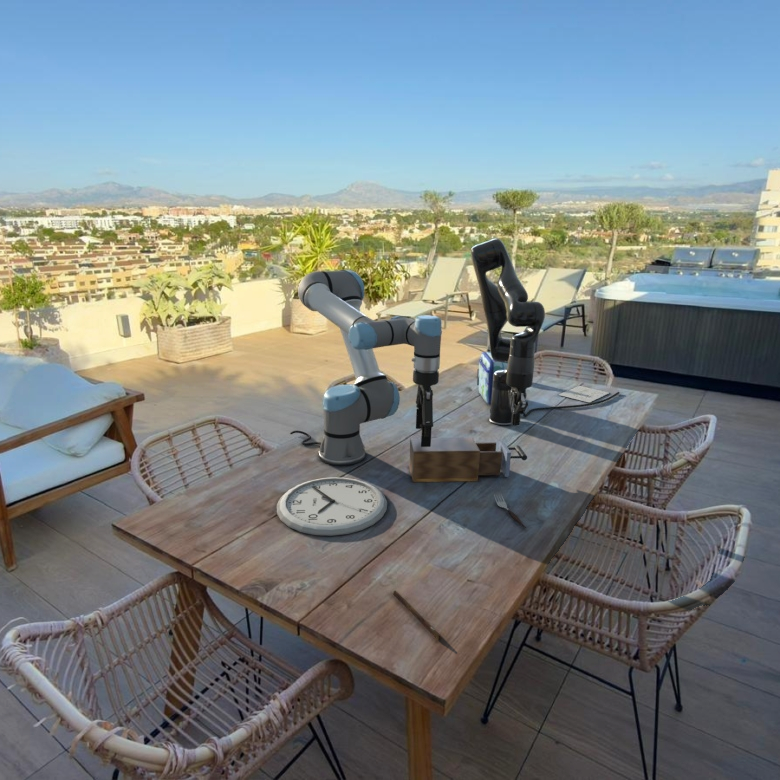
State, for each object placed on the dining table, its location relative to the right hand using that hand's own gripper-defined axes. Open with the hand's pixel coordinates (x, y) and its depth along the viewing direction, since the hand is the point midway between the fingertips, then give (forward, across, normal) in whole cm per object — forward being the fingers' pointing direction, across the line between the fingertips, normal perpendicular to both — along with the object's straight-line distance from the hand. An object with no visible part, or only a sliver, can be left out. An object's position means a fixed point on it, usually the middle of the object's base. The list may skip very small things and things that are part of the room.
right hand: (515, 424), depth 159 cm
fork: (+16, +25, -7) cm, 30 cm away
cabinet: (+16, 0, -22) cm, 27 cm away
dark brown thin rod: (+16, +62, -37) cm, 74 cm away
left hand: (+4, 0, -28) cm, 28 cm away
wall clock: (+16, +18, -55) cm, 60 cm away
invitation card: (+16, -79, +58) cm, 99 cm away
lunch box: (+16, -72, +12) cm, 75 cm away
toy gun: (+16, -112, +19) cm, 114 cm away
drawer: (+15, 0, -9) cm, 17 cm away
